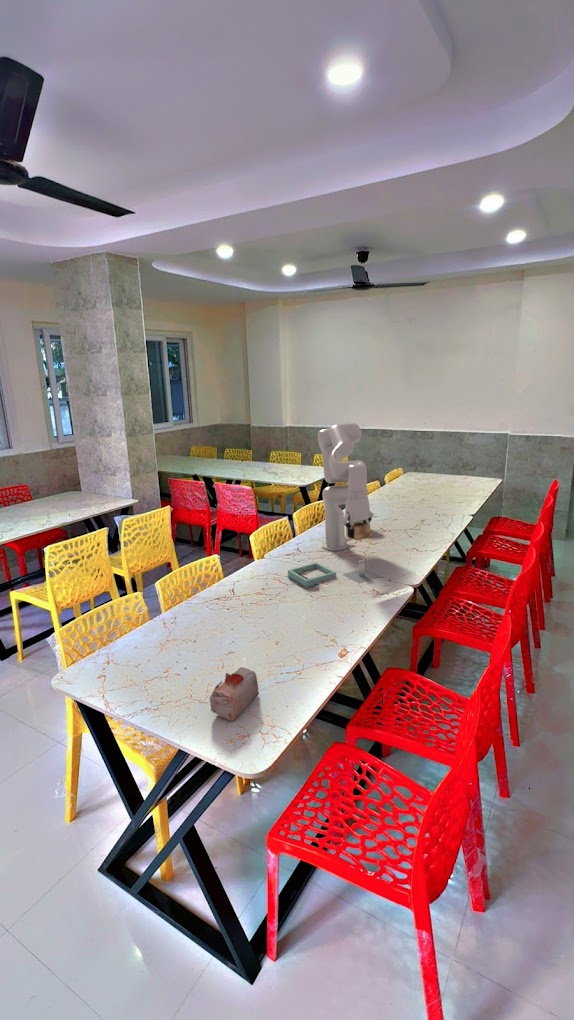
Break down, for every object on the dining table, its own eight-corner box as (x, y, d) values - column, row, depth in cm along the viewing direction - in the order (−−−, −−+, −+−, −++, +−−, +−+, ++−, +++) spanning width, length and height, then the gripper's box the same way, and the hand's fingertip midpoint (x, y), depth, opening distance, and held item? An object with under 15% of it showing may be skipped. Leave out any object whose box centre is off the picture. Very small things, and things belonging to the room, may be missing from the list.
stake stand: (363, 571, 225) (363, 553, 223) (381, 579, 215) (381, 561, 213) (342, 577, 219) (341, 559, 217) (359, 586, 209) (359, 568, 207)
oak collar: (359, 533, 217) (359, 520, 216) (370, 537, 211) (370, 524, 210) (346, 536, 214) (346, 524, 212) (356, 540, 208) (356, 528, 206)
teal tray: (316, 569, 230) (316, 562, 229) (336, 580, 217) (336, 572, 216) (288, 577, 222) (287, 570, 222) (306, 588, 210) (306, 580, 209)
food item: (234, 726, 130) (230, 692, 127) (209, 717, 134) (205, 685, 131) (261, 696, 141) (259, 665, 139) (238, 689, 145) (235, 658, 143)
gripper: (368, 489, 215) (368, 529, 220) (335, 496, 206) (336, 537, 211) (380, 492, 209) (380, 533, 213) (346, 499, 200) (347, 542, 205)
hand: (358, 535), depth 212 cm, fingers closed on oak collar, 7 cm apart
